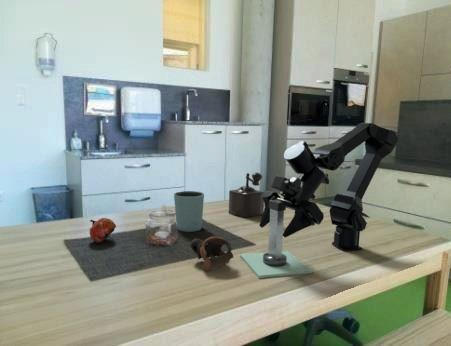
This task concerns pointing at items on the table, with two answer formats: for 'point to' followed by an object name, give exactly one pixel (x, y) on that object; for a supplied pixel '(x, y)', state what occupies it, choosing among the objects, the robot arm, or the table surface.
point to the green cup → (189, 210)
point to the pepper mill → (247, 199)
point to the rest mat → (264, 270)
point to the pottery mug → (212, 251)
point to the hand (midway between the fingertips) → (271, 231)
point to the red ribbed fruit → (101, 229)
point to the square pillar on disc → (275, 235)
